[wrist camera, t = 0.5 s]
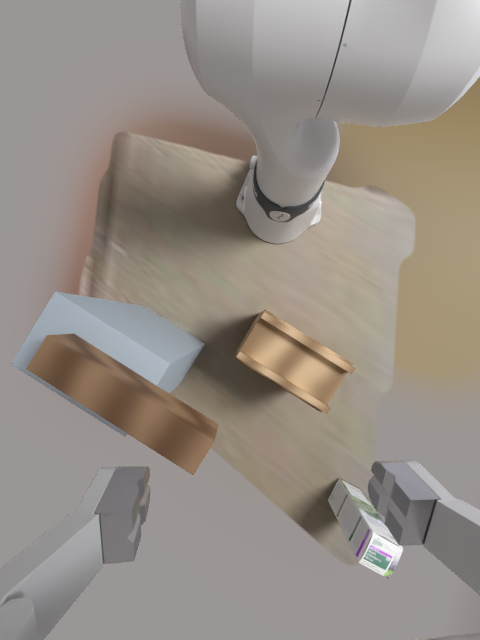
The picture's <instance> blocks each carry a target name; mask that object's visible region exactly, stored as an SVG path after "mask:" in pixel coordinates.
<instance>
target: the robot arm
mask: <svg viewBox="0 0 480 640" xmlns="http://www.w3.org/2000/svg"><path fill="white" fill-rule="evenodd" d="M181 25H182V33H183V39H184V44H185V49H186V52H187V56H188V59H189V62H190V65H191V68H192V70H193V72H194V74H195V76H196V78H197V80H198V82H199V84H200V85H201V87H202V88H203V90H204V91H205V93H206V94H207V95H208V96H210V97H212V98H213V99H215V100H216V101H218V102H219V103H221V104H222V105H223V106H225V107H226V108H227V109H228V110H230V111H231V112H232V113H233V114H234V115H235V116H236V117H237V118H238V119H239V120H240V121H241V122H242V123H243V125H244V126H245V127H246V128H247V130H248V131H249V133H250V134H251V136H252V137H253V139H254V141H255V143H256V146H257V154H256V156H252V158H251V161H250V166H249V167H250V170H249V172H248V174H247V177H246V179H245V182H244V184H243V186H242V189H241V191H240V194H239V196H238V198H237V201H236V207H237V208H238V210H239V211H240V212H241V213H242V214H243V215H244V216H245V218H246V220H247V223H248V225H249V227H250V229H251V230H252V231H253V233H254V234H255V235H256V236H258V237H259V238H260V239H262V240H264V241H266V242H270V243H276V244H280V243H286V242H289V241H292V240H294V239H295V238H297V237H298V236H300V235H301V234H302V233H303V232H304V231H305V230H306V229H307V228H309V227H312V226H314V225H316V224H318V223H319V221H320V219H321V203H322V202H321V191H322V188H323V185H324V181H325V178H326V176H327V174H328V173H329V171H330V169H331V167H332V166H333V164H334V162H335V160H336V157H337V154H338V149H339V141H340V139H339V131H338V127H337V124H336V121H337V122H345V123H353V124H362V125H369V126H377V127H382V126H392V125H402V124H410V123H417V122H424V121H429V120H432V119H434V118H436V117H437V116H439V115H440V114H442V113H443V112H445V111H446V110H447V109H448V108H450V107H451V106H452V105H453V104H454V103H455V102H457V101H458V100H459V99H460V98H461V97H462V96H463V95H464V94H465V92H467V90H468V89H469V88H470V87H471V86H472V85H473V84H474V83H475V81H476V80H477V79H478V78H479V76H480V0H181ZM242 198H244V200H242ZM371 471H372V473H373V474H374V476H373V477H372V478H371V479H370V480H369V484H368V492H369V497H370V500H371V502H372V504H373V506H374V508H375V509H376V511H377V512H379V513H380V514H381V515H383V516H384V517H385V525H386V526H387V528H388V529H389V531H390V533H391V534H392V536H393V537H394V539H395V540H396V542H397V543H398V545H424V547H425V548H426V549H427V550H428V551H429V552H430V553H432V554H433V555H434V556H435V557H436V558H437V559H439V560H440V561H441V562H442V563H443V564H444V565H445V566H447V567H448V568H449V569H450V570H451V571H452V572H454V573H455V574H456V575H457V576H458V577H459V578H461V579H462V580H463V581H464V582H465V583H466V584H467V585H469V586H470V587H471V588H472V589H473V590H474V591H475V592H477V593H478V594H479V595H480V510H478V509H476V508H474V507H472V506H470V505H469V504H467V503H465V502H464V501H462V500H460V499H455V498H453V496H452V495H451V494H450V493H449V492H447V490H445V488H444V487H443V486H442V485H441V484H440V483H439V482H437V481H436V480H435V479H434V478H433V477H432V476H431V475H430V474H429V473H428V472H427V471H426V470H425V469H424V468H423V467H422V466H421V465H420V464H419V463H418V462H416V461H414V460H404V461H403V460H402V461H376V462H374V463H373V465H372V469H371ZM149 477H150V470H149V467H102V468H101V469H100V470H99V471H98V473H97V474H96V476H95V478H94V479H93V481H92V483H91V485H90V486H89V488H88V490H87V492H86V494H85V495H84V497H83V499H82V500H81V502H80V504H79V506H78V508H77V509H76V511H75V513H74V514H73V515H67V516H66V517H65V518H64V519H62V520H61V521H60V522H59V523H57V524H56V525H55V526H53V527H52V528H51V529H50V530H48V531H47V532H46V533H44V534H43V535H42V536H41V537H39V538H38V539H37V540H36V541H34V542H33V543H32V544H31V545H29V546H28V547H27V548H25V549H24V550H23V551H21V552H20V553H19V554H18V555H17V556H15V557H14V558H13V559H11V560H10V561H9V562H8V563H6V564H5V565H4V566H2V567H1V568H0V640H44V639H45V638H46V636H47V635H48V634H49V633H50V631H51V630H52V629H53V628H54V626H55V625H56V624H57V623H58V622H59V620H60V619H61V618H62V617H63V615H64V614H65V613H66V612H67V610H68V609H69V608H70V607H71V605H72V604H73V603H74V602H75V601H76V599H77V598H78V597H79V596H80V594H81V593H82V592H83V591H84V589H85V588H86V587H87V585H89V583H90V582H91V581H92V580H93V578H94V577H95V576H96V574H97V573H98V572H99V571H100V570H101V569H102V567H103V564H108V563H109V564H110V563H121V562H131V561H134V560H135V556H136V553H137V549H138V546H139V542H140V539H141V525H142V524H143V523H144V522H145V521H146V517H147V513H148V508H149V502H150V486H149V485H148V480H149ZM415 640H480V633H474V634H464V635H455V636H445V637H435V638H424V639H415Z"/></svg>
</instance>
